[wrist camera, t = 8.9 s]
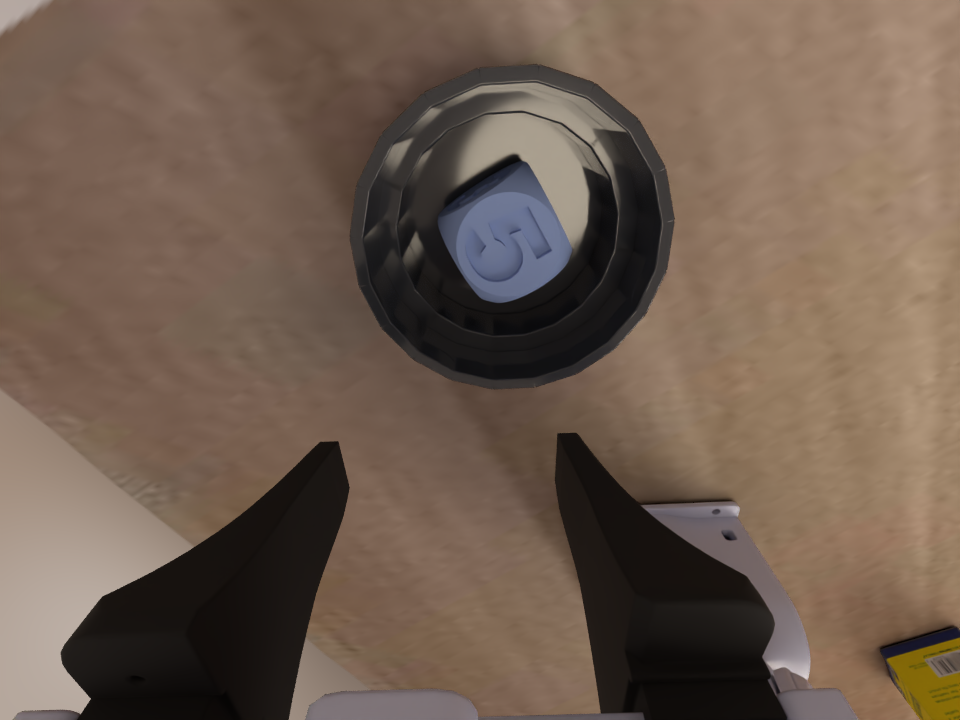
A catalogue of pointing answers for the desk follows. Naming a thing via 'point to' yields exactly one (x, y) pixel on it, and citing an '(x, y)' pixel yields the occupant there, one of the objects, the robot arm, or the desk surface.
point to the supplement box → (928, 673)
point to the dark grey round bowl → (573, 195)
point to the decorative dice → (505, 235)
